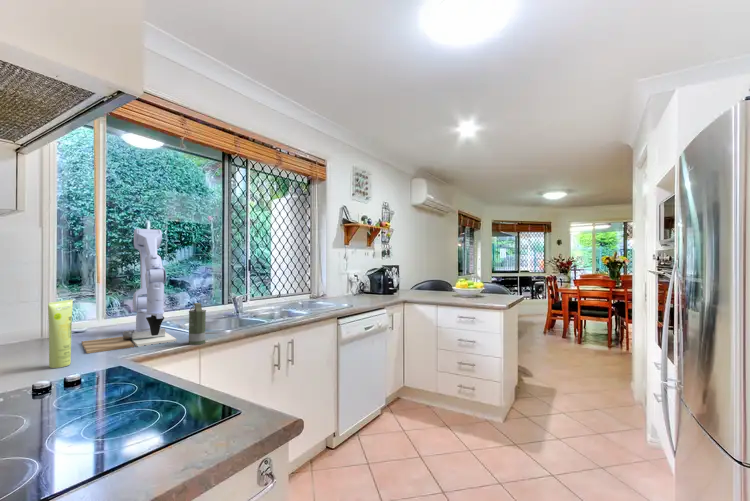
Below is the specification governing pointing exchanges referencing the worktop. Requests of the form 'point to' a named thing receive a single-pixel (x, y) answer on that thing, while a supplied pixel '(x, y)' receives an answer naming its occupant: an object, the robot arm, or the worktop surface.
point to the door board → (153, 339)
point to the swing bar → (141, 334)
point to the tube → (60, 333)
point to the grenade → (197, 325)
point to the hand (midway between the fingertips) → (154, 335)
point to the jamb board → (106, 344)
